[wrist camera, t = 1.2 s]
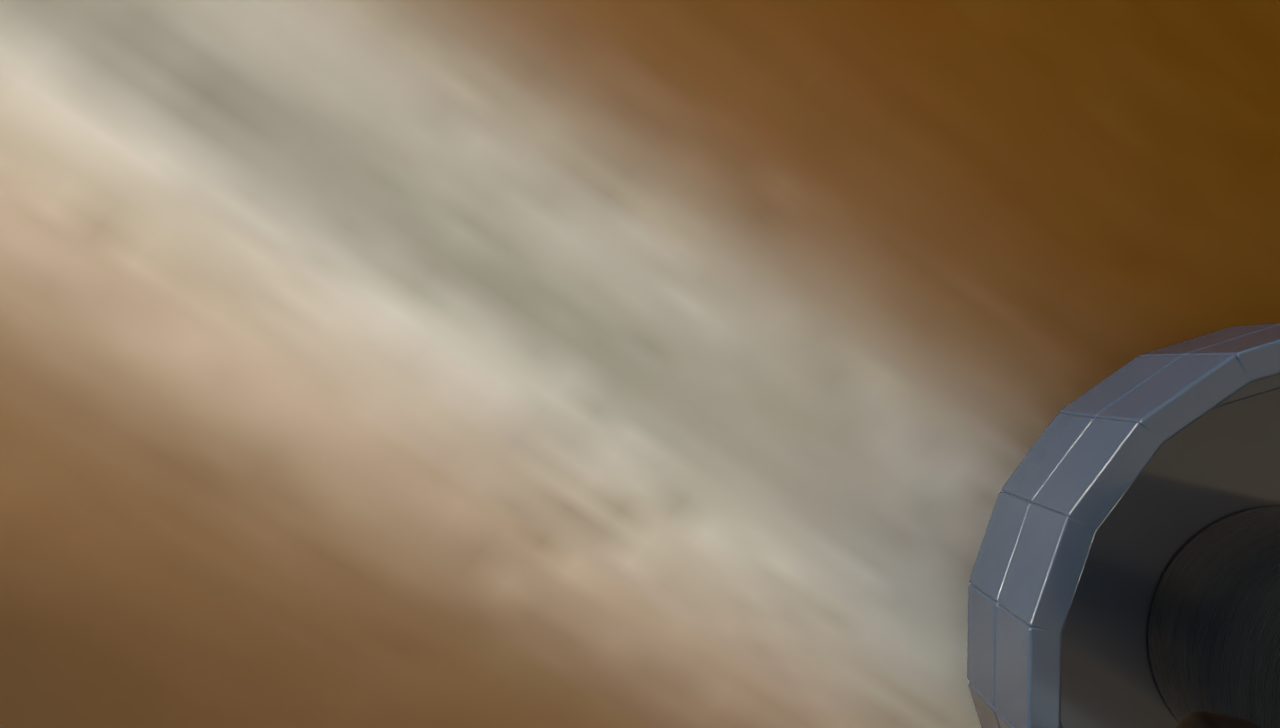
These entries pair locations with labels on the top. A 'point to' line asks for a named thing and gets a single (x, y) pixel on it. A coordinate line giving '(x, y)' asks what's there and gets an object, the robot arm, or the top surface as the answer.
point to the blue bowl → (1116, 529)
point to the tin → (1222, 621)
